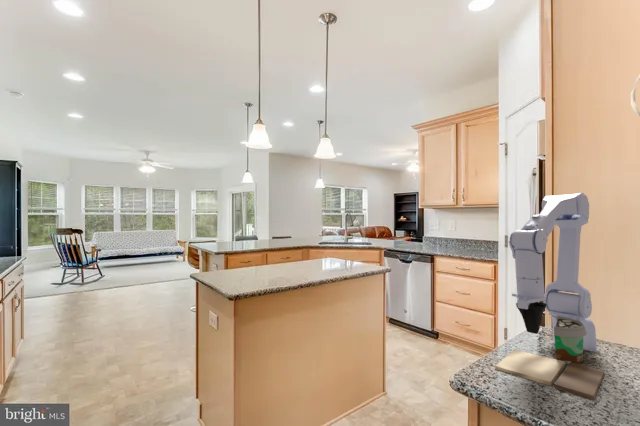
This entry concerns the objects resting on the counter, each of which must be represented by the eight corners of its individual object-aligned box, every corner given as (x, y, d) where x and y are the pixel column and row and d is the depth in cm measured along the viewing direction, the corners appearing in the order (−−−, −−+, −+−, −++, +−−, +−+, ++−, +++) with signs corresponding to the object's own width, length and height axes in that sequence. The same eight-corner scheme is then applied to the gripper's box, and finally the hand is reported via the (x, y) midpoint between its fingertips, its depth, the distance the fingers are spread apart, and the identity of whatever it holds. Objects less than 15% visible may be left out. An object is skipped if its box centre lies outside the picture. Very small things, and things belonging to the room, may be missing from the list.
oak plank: (565, 368, 75) (565, 361, 75) (551, 389, 66) (550, 382, 66) (514, 355, 84) (514, 349, 84) (495, 372, 74) (495, 365, 74)
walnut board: (570, 369, 75) (569, 362, 75) (604, 378, 70) (604, 370, 70) (555, 392, 65) (554, 384, 65) (594, 404, 61) (593, 395, 61)
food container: (589, 375, 72) (586, 332, 72) (556, 368, 76) (553, 327, 76) (588, 357, 81) (586, 319, 82) (559, 351, 85) (557, 315, 86)
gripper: (520, 272, 85) (522, 321, 85) (501, 279, 76) (505, 335, 75) (551, 274, 80) (554, 327, 79) (536, 283, 70) (539, 343, 70)
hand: (532, 332), depth 77 cm, fingers closed
